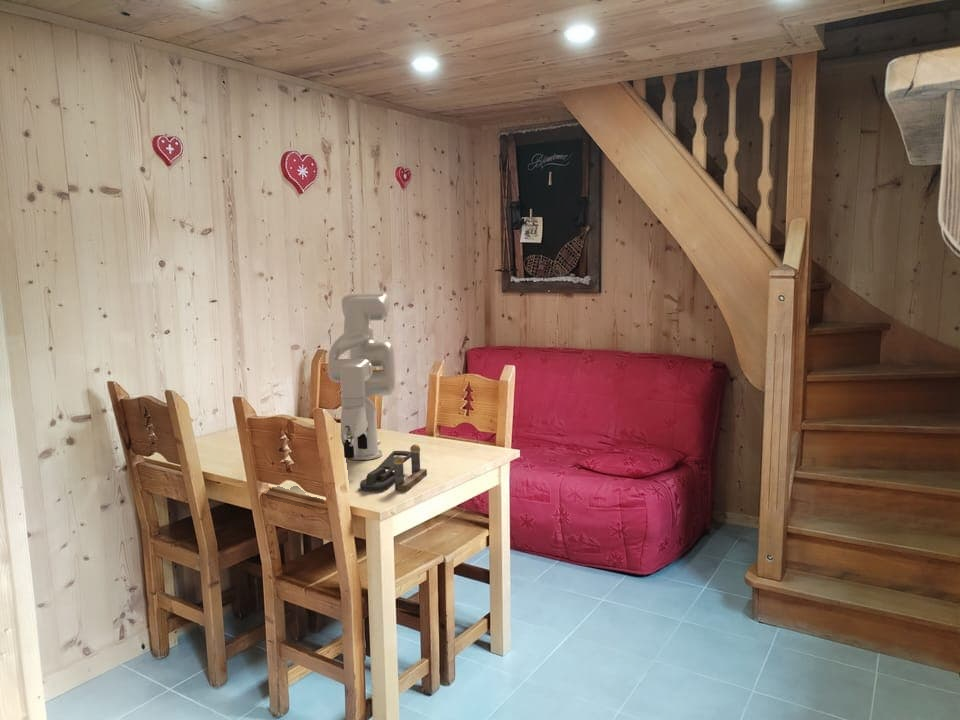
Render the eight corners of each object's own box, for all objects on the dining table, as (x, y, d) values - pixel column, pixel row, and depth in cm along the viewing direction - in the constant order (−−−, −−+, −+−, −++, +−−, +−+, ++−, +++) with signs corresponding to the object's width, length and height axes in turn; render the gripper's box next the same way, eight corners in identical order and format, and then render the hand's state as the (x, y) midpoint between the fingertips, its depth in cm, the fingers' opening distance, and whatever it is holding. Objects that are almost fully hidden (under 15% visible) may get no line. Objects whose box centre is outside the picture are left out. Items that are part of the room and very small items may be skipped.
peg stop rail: (413, 474, 220) (412, 442, 219) (426, 475, 219) (425, 443, 218) (392, 491, 203) (390, 457, 202) (406, 492, 202) (405, 457, 200)
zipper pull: (416, 451, 224) (381, 472, 200) (417, 470, 225) (381, 493, 201) (392, 449, 227) (354, 469, 203) (393, 468, 228) (355, 491, 204)
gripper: (354, 395, 222) (357, 444, 225) (329, 407, 206) (332, 460, 209) (375, 396, 220) (377, 446, 223) (351, 408, 204) (354, 462, 207)
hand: (356, 453), depth 216 cm, fingers open, 9 cm apart
